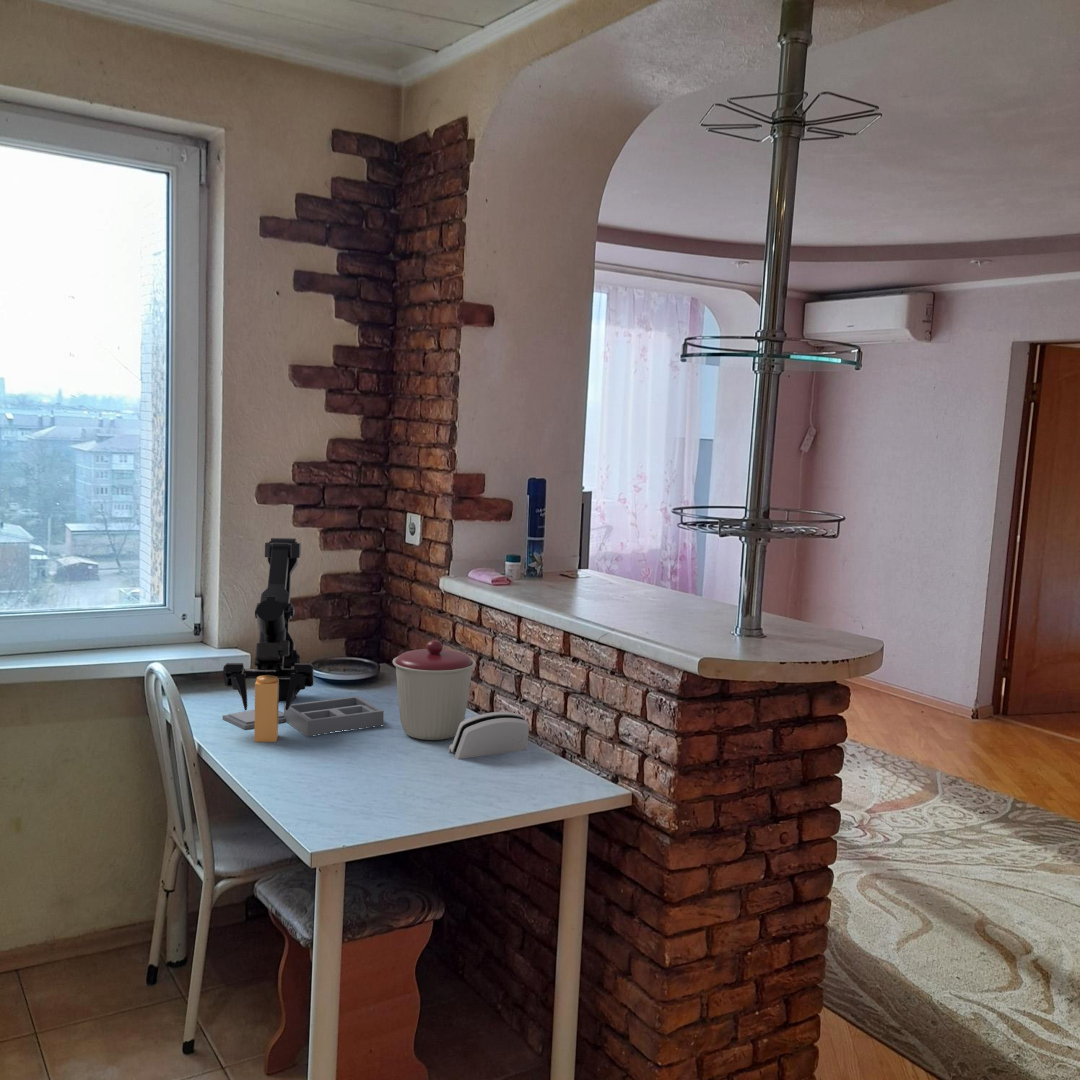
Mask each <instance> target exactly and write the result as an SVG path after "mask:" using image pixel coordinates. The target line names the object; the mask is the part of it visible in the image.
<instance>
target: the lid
mask: <svg viewBox="0 0 1080 1080" xmlns="http://www.w3.org/2000/svg"><path fill="white" fill-rule="evenodd" d="M222 720H224V721H226V722H228V723H229V724H231V725H234V726H236V727H237V728H240V729H242V730H249V729H255V709H250V710H244V711H240V712H235V713H234V712H233V713H228V714H224V715H222ZM279 723H281V724H282V723H287V722H286V718H285V717H284V711H281V710H278V724H279Z"/></svg>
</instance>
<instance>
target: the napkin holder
mask: <svg viewBox="0 0 1080 1080" xmlns="http://www.w3.org/2000/svg"><path fill="white" fill-rule="evenodd" d="M529 731H530V725H529V722H528V721H527V720H526V718H525V716H523V715H522V714H520V713H515V712H510V711H494V712H486V713H482V714H479V715H475V716H472V717H469V718H467V719H464V721H462V722H461V723H460V724H459V727H458V730H457V733H456V736H454V739H453V742H452V743H451V744H449V748H448V753H449V754H450V753H454V758H455V759H457V760H462V759H468V758H469V759H470V758H475V757H483V756H489V755H490V756H492V755H498V754H506V753H514V752H518V751H520V752H521V751H527V750H528V742H529Z"/></svg>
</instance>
